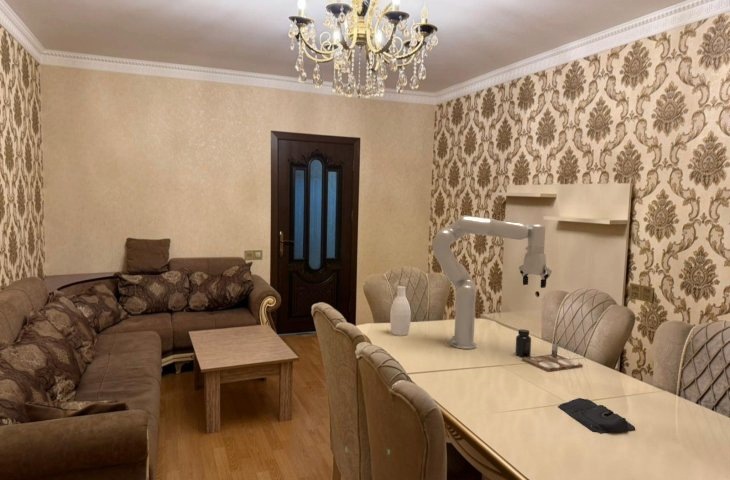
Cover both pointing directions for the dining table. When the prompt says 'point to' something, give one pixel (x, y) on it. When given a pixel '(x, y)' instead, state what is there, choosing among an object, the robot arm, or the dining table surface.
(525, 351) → the supplement bottle
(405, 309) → the bottle
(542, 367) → the board
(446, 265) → the robot arm
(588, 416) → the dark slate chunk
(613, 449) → the dining table surface
